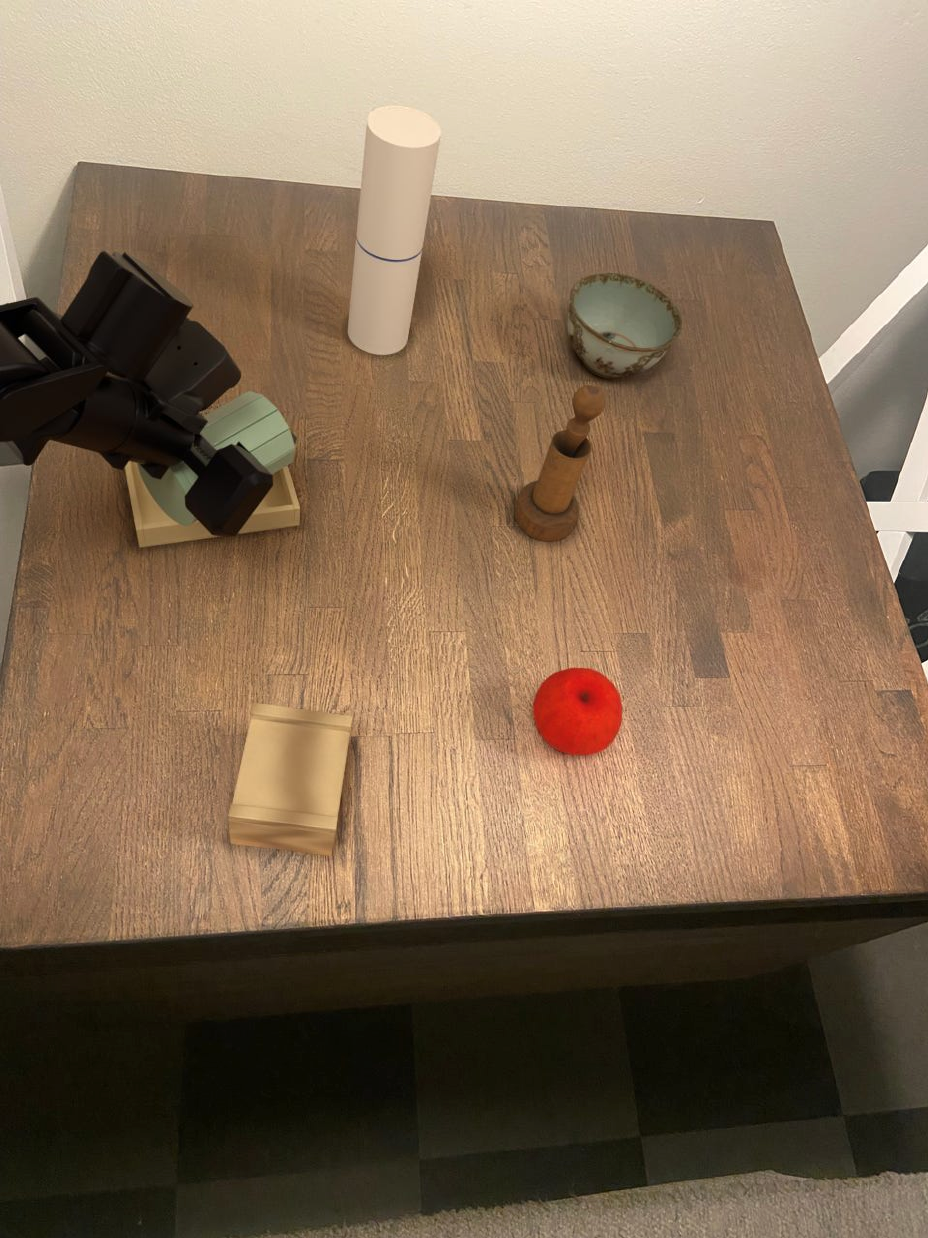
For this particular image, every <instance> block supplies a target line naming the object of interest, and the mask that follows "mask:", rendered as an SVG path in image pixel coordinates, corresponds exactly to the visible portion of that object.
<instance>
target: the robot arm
mask: <svg viewBox="0 0 928 1238" xmlns="http://www.w3.org/2000/svg"><path fill="white" fill-rule="evenodd" d="M193 308H194V304H193V302H192V300H190V298H189V297H188V296H187V295H185V293H183V292H182V291H181V290H180V289H179V288H178V287H177V286H176V285H174V284H173V283H172V282H171V281H169V280H168V279H167V278H165V277H164V276H163V275H161V274H160V273H158V272H157V271H156V270H155V269H153V268H152V267H150V266H148V265H147V264H146V263H144V262H142V261H141V260H139V259H138V258H136V257H135V256H133V255H131V254H130V253H128V252H126V251H123V253H121V252H118V251H113V252H112V253H109V252H107V251H105V250H103V251H100V252H99V254H98V255H97V257H96V259H95V260H94V261H93V263H92V265H91V266H90V269H89V271H88V274H87V276H86V279H84V282H83V283H82V285H81V287H80V289H79V290H78V291H77V293H76V294H75V296H74V298H73V299H72V301H71V302H70V304H69V305H68V307H67V309H66V311H65V312H64V314H63V315H62V314H60V313H58V312H55V311H53V310H52V309H51V308H50V307H49V306H48V305H47V304H46V303H45V302H44V301H43V300H42V299H41V298H40V297H38V296H35V297H30V298H26V299H22V300H17V301H13V302H7V303H4V304H0V443H3V444H5V445H6V446H7V448H8V449H10V451H11V452H12V453H13V454H14V455H15V456H16V457H17V459H18V460H19V461H20V462H21V463H22V464H23V465H24V466H26V467H30V466H32V465H34V463H35V462H36V461H37V459H38V457H39V456H40V454H41V453H42V451H43V450H44V448H45V447H46V446H47V444H48V443H49V442H50V441H52V442H56V443H60V444H63V445H67V446H72V447H75V448H79V449H83V450H87V451H90V452H95V453H98V454H99V455H100V456H101V457H102V458H103V459H104V460H105V462H107V463H108V464H109V466H110V467H111V468H113V469H116V470H120V471H124V470H125V466H126V465H127V463H128V462H129V461H131V462H135V463H139V464H140V466H141V467H142V468H143V469H144V470H145V471H146V472H147V473H148V474H149V475H150V476H151V477H152V478H156V479H160V480H161V479H162V477H163V476H164V474H165V473H166V472H167V470H168V469H169V467H170V466H171V467H174V466H176V465H177V464H179V463H180V462H181V461H183V462H184V463H185V464H186V465H187V466H188V467H189V468H190V469H191V470H192V471H193V472H194V473H195V474H196V475H197V476H198V478H197V480H196V481H195V482H194V484H193V485H192V487H191V488H190V489H189V491H188V492H187V494H186V495H185V506H186V508H187V509H188V510H189V511H190V513H191V514H192V515H193V516H194V517H195V518H196V519H197V520H198V521H199V522H200V523H201V524H202V525H203V526H204V527H205V528H206V529H207V530H208V531H209V532H210V533H211V534H212V535H214V536H220V538H226V539H228V538H236V537H237V536H238V535H239V534H238V533H239V531H240V530H241V529H242V527H243V526H244V524H245V523H246V522H247V520H248V519H249V518H250V516H251V515H252V514H253V512H254V511H255V510H256V508H257V507H258V506H259V504H260V503H261V502H262V500H263V499H264V497H265V496H266V495H267V493H268V492H269V491H270V489H271V488H272V487H273V475H272V474H271V473H270V472H269V471H268V470H267V469H266V468H265V467H264V466H263V465H262V464H261V463H260V462H259V461H258V460H257V459H256V458H255V457H254V456H253V455H252V454H251V453H250V452H249V451H248V450H247V449H246V448H245V447H244V446H243V445H242V444H241V443H240V442H238V443H237V444H236V445H234V444H230V445H228V446H226V447H224V448H220V449H218V450H217V449H216V448H215V447H214V446H213V445H212V444H211V443H210V442H209V441H208V440H207V439H206V438H205V437H204V436H203V435H202V434H201V433H200V432H201V431H202V430H203V428H204V427H205V425H206V424H207V422H208V421H207V420H206V419H205V418H204V417H203V416H204V415H202V412H203V411H206V410H208V409H209V408H210V407H211V406H212V405H213V404H214V403H215V402H216V401H218V400H219V399H220V398H221V397H222V396H223V395H224V394H225V393H227V391H229V390H230V389H233V388H235V387H236V385H238V384H239V382H240V381H241V378H242V372H241V369H240V368H239V366H238V365H237V363H236V361H235V360H234V359H233V357H232V356H231V355H230V353H229V351H228V350H227V348H226V347H225V346H224V345H223V344H222V343H221V342H220V341H219V340H218V339H217V338H216V337H215V336H214V335H213V334H212V333H211V332H210V331H208V330H207V329H206V328H205V326H203V325H202V324H201V323H200V322H199V321H196V320H191V319H190V317H188V315H189V314H190V313H191V311H192V310H193ZM22 336H26V337H27V338H28V339H29V340H30V341H31V343H33V345H35V347H36V348H38V349H39V351H40V352H41V353H42V354H43V355H44V356H45V357H43V358H41V359H39V358H38V357H37V356H36V355H35V354H34V353H33V351H32V350H30V348H29V347H28V346H26V344H25V343H23V342H22V340H21V339H20V338H22ZM200 412H201V413H200ZM193 444H194V445H193ZM196 447H197V448H196ZM199 450H200V451H199ZM202 453H203V454H202ZM205 456H207V457H205ZM208 459H210V460H208Z"/></svg>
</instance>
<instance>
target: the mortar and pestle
mask: <svg viewBox="0 0 928 1238" xmlns="http://www.w3.org/2000/svg"><path fill="white" fill-rule="evenodd" d="M571 405H572V409H573V413H574V417H571V418H570V419H569V420H568V421H567V423H566V427H565V429H563V430H559V431H557V432H556V433H554V434H553V436H552V438H551V440H550V444H549V446H548V448H547V449H548V450H547V453H546V456H545V458H544V461H543V463H542V467H541V470H540V473H539V474H538V478H537V480H533V481H531V482H529V483H527V484H525V486H524V487H523V488H522V489H521V490H520V492H519V494H518V497H517V501H516V503H515V506H514V511H513V512H514V519H515V521H516V524H517V525H518V527H519V528H520V530H522V532H523V533H525V534H526V535H527V536H529V537H531V538H533V539H535V540H536V541H541V542H548V543H550V542H557V541H561V540H563V539H565V538H566V537H568V536H569V535H570V533H571V532H572V531H573V528H574V526H575V524H576V522H577V520H578V516H579V513H580V512H579V511H580V508H579V502H578V500H577V499H576V496H575V495H574V493H575V491H576V488H577V486H578V484H579V481H580V478H581V477H582V474H583V472H584V469H585V466H586V464H587V462H588V459H589V458H590V455H591V453H592V449H593V448H592V443H591V441H590V440H589V438H587V437H588V436H589V434H590V432H591V426H590V422H591V421H592V420H595V419H596V418H598V417H599V416H600V415H601V414H602V413H603V412H604V410H605V408H606V395H605V393H604V391H603V390H602V389H601V388H600V387H599V386H596V385H594V384H585V385H582V386H581V387H579V388H578V389H577V390H576V391H575V392H574V395H573V397H572V404H571Z"/></svg>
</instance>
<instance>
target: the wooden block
mask: <svg viewBox="0 0 928 1238" xmlns="http://www.w3.org/2000/svg"><path fill="white" fill-rule="evenodd" d="M249 714H250V715H249V716H250V719H249V724H248V729H247V734H246V738H245V743H244V747H243V752H242V755H241V761H240V765H239V770H238V775H237V778H236V782H235V783H236V784H235V789H234V793H233V797H232V801H231V803H230V804H229V809H228V814H227V821H228V822H227V823H228V833H229V842H230V843H229V844H231V845H237V846H238V845H239V846H246V847H247V846H248V847H254V848H263V849H271V850H280V851H287V852H296V853H305V854H312V855H321V856H327V857H328V856H329V857H332V854H333V849H334V843H335V838H336V833H337V832H336V831H337V825H338V817H339V810H340V803H341V798H342V793H343V791H342V790H343V785H344V784H343V783H344V778H345V770H346V763H347V757H348V750H349V743H350V737H351V729H352V725H353V724H352V723H353V718H354V717H353V716H352V715H347V714H341V713H340V714H339V713H334V712H333V713H332V712H326V711H319V710H312V709H311V710H310V709H303V708H297V707H289V706H282V705H275V704H269V703H268V704H267V703H262V702H261V703H260V702H255V701H253V702H252V704H251V708H250V713H249Z"/></svg>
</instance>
